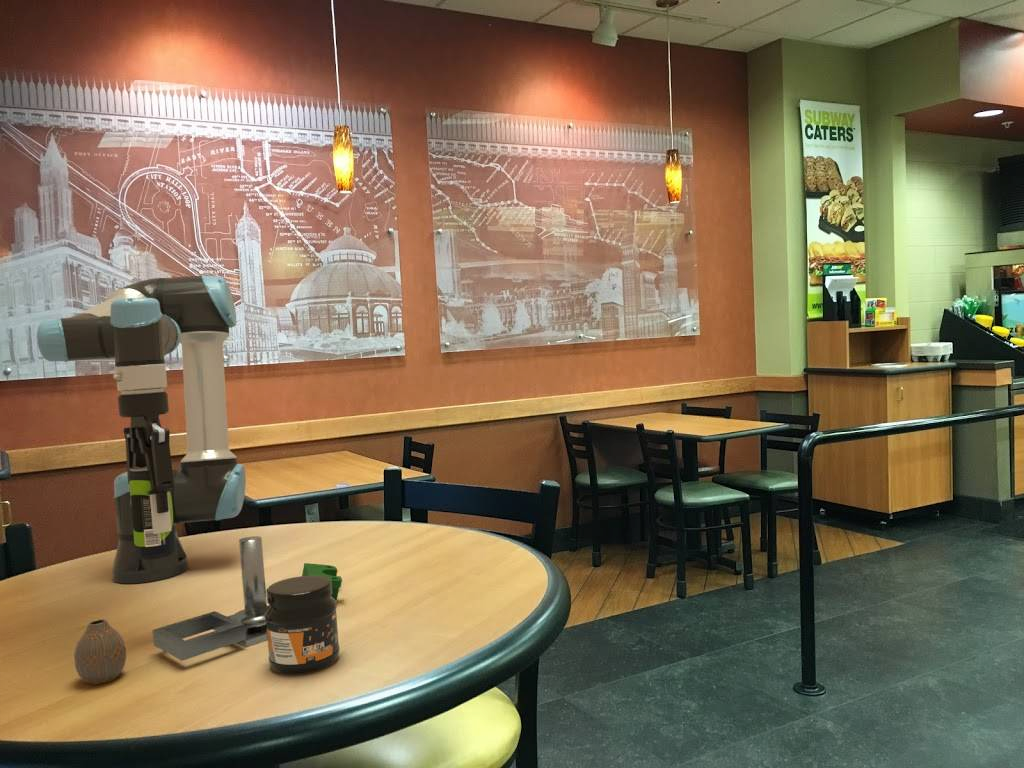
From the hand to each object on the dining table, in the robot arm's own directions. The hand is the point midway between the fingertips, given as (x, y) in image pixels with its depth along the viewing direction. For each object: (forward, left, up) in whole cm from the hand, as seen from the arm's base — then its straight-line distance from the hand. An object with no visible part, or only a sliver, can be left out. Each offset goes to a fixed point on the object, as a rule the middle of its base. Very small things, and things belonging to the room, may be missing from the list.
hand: (154, 529), depth 136 cm
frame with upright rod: (+11, +6, -19) cm, 22 cm away
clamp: (+5, +28, -19) cm, 34 cm away
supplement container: (+29, +9, -19) cm, 36 cm away
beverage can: (0, 0, -5) cm, 5 cm away
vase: (+9, -13, -19) cm, 25 cm away
